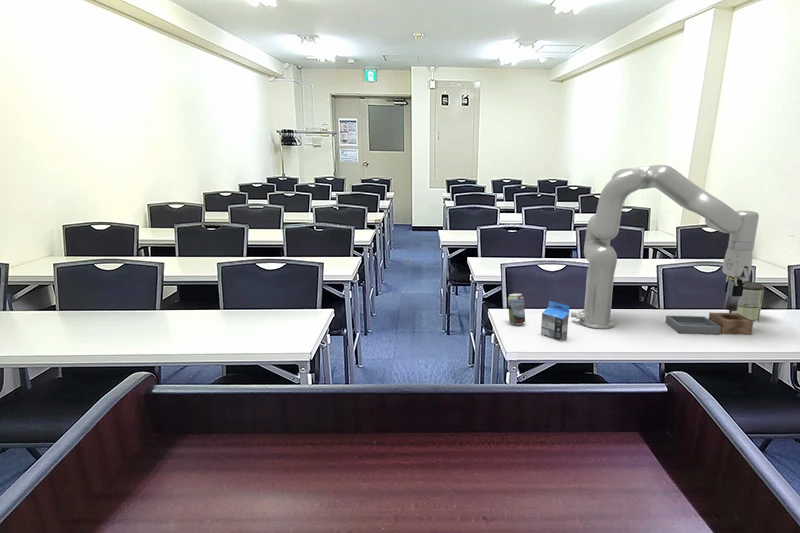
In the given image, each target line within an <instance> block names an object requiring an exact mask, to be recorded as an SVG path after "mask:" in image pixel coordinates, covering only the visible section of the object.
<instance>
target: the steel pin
mask: <svg viewBox="0 0 800 533" xmlns="http://www.w3.org/2000/svg"><path fill="white" fill-rule="evenodd" d="M739 280H742V279H738V281H739ZM733 285H735V278H734V277H729V281H728V288H727V293H725V294H726V296H725V301H724V307H723V309H724V310H727V311H729V310H730V311H737V309H738V303H739V297H737V296H732V290H733Z"/></svg>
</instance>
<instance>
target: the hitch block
mask: <svg viewBox="0 0 800 533" xmlns="http://www.w3.org/2000/svg"><path fill="white" fill-rule="evenodd" d="M708 319H709V320H711V321H713V322H714V323H716V324H717V325H719V326H720V327H721V332H720V335H737V334H743V335H742V336H751V335H752V333H753V328H754V326H753V325H754V322H753V321H751V320H749V319H747V318H745V317H744V316H742V315H740V314H738V313H729V312H710V311H709V313H708Z"/></svg>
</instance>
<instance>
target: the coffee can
mask: <svg viewBox="0 0 800 533" xmlns="http://www.w3.org/2000/svg"><path fill="white" fill-rule="evenodd" d="M765 288H766V286H765V285H764V284H762V283H758V282H755V281H754V282H753V281H748V282H746V283H745V286H744V287H743V293H742V296H741V297H739V303H738V309H737V311H730V310H728V313H738V314H740V315H742V316H744V317H745V318H747V319H749V320H751V321H753V323H756V322H755V321H758V322H760V316H761V309H762V302H763V297H764V292H765V291H764V290H765Z"/></svg>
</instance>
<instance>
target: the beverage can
mask: <svg viewBox="0 0 800 533" xmlns="http://www.w3.org/2000/svg"><path fill="white" fill-rule="evenodd" d="M507 305H508V308H507V309H508V319H509V320H508V321H509V323H510V324H511V323H513V324H512V325H514V324H517V325H518V324H519V325H523V324H524V323H525V322H526V314H525V313H526V312H525V310H526V309H525V297H524V295H523V293H510V294H509V295H508V297H507Z"/></svg>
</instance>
